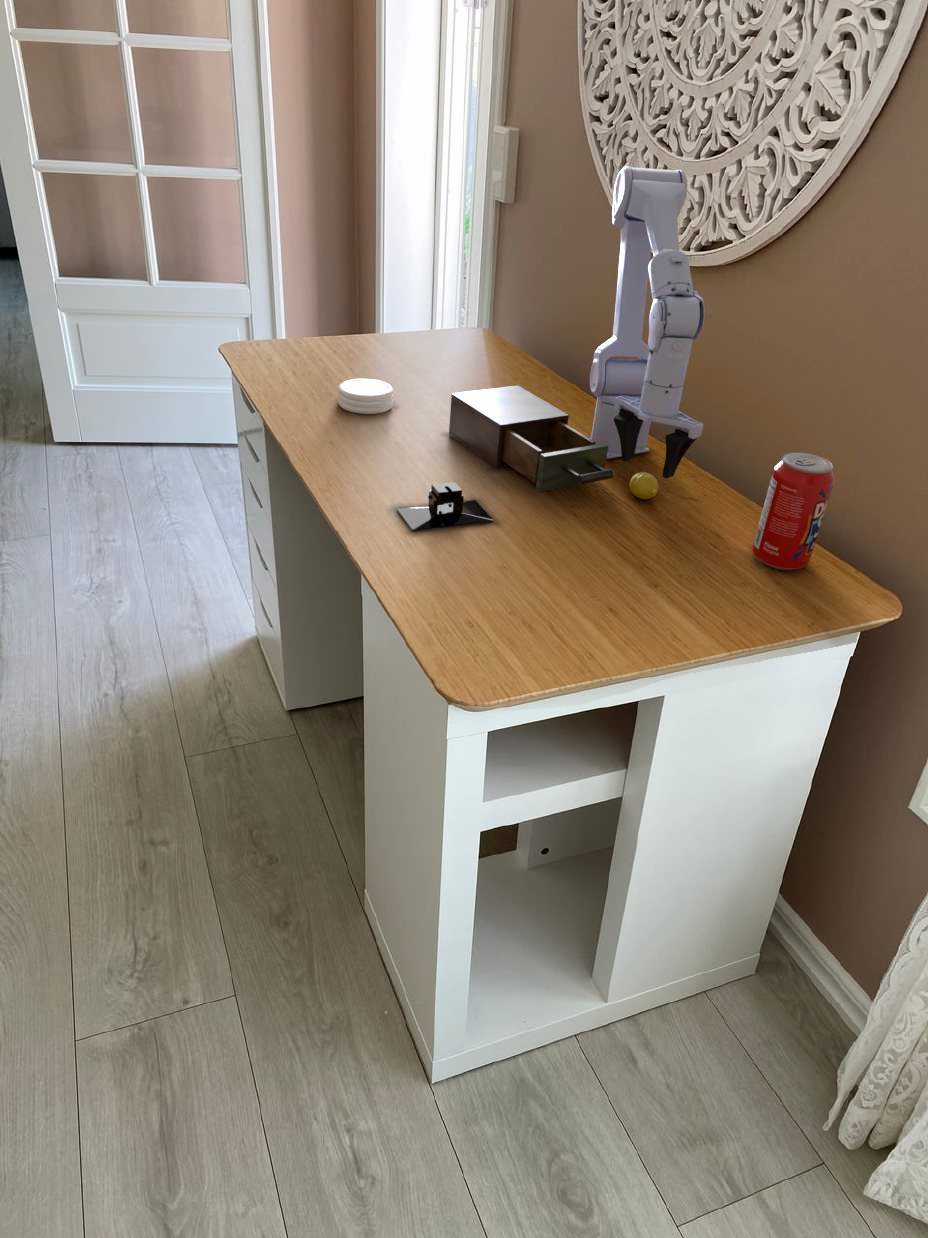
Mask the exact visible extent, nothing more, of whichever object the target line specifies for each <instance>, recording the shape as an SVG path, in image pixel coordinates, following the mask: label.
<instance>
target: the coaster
mask: <svg viewBox="0 0 928 1238" xmlns="http://www.w3.org/2000/svg"><path fill="white" fill-rule="evenodd" d="M337 391H338V393H337V398H338V399H337V403H338V405H339V407H340V408H341V409H343V410H345V411H347V412H350V413H353V414H361V415H376V414H377V415H378V414H383V413H386V412H388V411H389V410H391V409H392V408H393V405H394V401H393V400H394V387H392V385H390V384H389V383H387V382H385V381H382V380H379V379H373V378H353V379H348V380H344V381H343V382H341V383H340V384H338V387H337Z"/></svg>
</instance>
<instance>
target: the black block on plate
mask: <svg viewBox="0 0 928 1238" xmlns="http://www.w3.org/2000/svg"><path fill="white" fill-rule="evenodd" d="M427 498H428V503H427V504H422V505H421V504H420V505H412V506H403V507H397V508H396V512H397V513H398V514H399V516H400V517H401V519H402V520H403V522H405V524H406V525H407V526H408V528H409V529H410V531H411V532H412V533H413V532H415V533H416V532H422V531H430V530H439V529H440V530H441V529H448V528H456V527H464V526H473V525H480V524H481V525H483V524H490V523H494V519H493V518H492V516H491V515H490V514H489V513H488V512H487V511H486V509H484V508H483V507H482V506H481V505H480V503H479V502H478V501H477V500H476V499H470V500H465V498H464V495H463V489H462V488H461V487H460V486H459V485H458V484H457V482H453V481H452V482H443V483H432V484H431V488H430V490H429V492H428V496H427Z"/></svg>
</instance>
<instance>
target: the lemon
mask: <svg viewBox="0 0 928 1238" xmlns="http://www.w3.org/2000/svg"><path fill="white" fill-rule="evenodd" d="M629 490H630V492H631V493H632V495H633V496H635V497H636V498H638V499H640V500H644V501H645V500H650V499H652V498H654V497H655V496H656V495H657V493H658V491H659V482H658V480H657V478H656V477H655V476H654V475H653V474H651V473H649V472H646V471H640V472H637V473H635V474H634V475H633V476H632V477H631V479H630V481H629Z"/></svg>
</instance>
